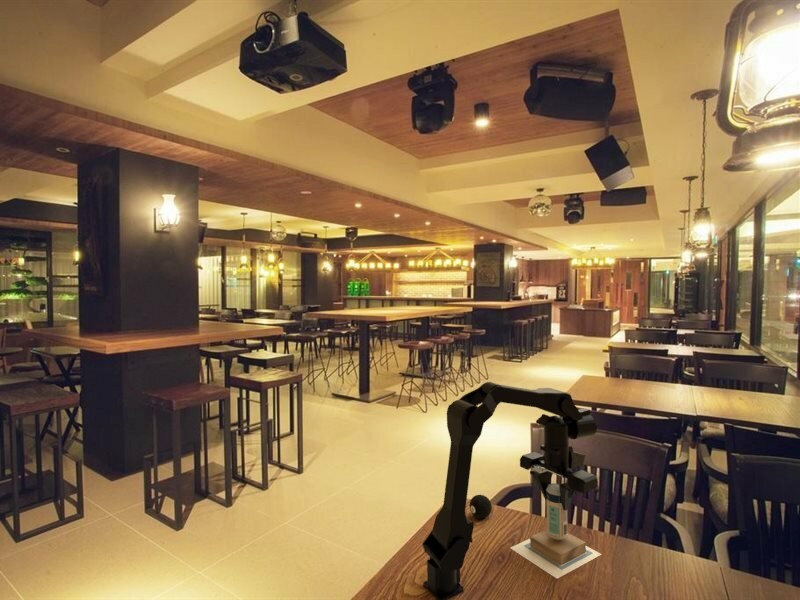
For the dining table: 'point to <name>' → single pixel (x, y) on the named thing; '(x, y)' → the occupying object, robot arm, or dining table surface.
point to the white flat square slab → (549, 564)
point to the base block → (558, 547)
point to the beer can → (555, 513)
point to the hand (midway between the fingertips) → (556, 505)
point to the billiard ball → (480, 506)
